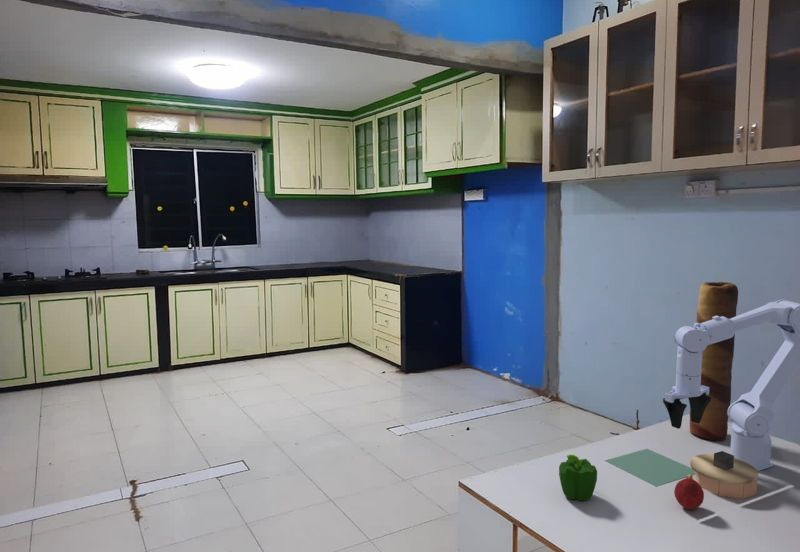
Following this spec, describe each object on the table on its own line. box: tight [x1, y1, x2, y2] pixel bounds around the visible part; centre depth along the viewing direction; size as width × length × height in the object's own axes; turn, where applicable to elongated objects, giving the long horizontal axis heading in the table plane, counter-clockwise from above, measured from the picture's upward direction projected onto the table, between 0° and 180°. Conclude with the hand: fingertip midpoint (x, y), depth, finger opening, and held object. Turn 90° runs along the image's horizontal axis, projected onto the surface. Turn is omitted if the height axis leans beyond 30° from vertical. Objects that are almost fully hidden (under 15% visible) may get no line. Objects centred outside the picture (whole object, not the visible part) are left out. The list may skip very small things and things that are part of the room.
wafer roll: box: [689, 281, 739, 441], centre depth 163 cm, size 10×11×45 cm
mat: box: [604, 448, 695, 488], centre depth 145 cm, size 16×16×1 cm
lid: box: [689, 450, 759, 484], centre depth 134 cm, size 14×14×4 cm
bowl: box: [694, 471, 758, 499], centre depth 134 cm, size 12×12×4 cm
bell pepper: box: [558, 454, 598, 502], centre depth 130 cm, size 8×8×10 cm
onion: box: [673, 474, 705, 511], centre depth 124 cm, size 6×6×8 cm
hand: (685, 424), depth 146 cm, fingers open, 7 cm apart
